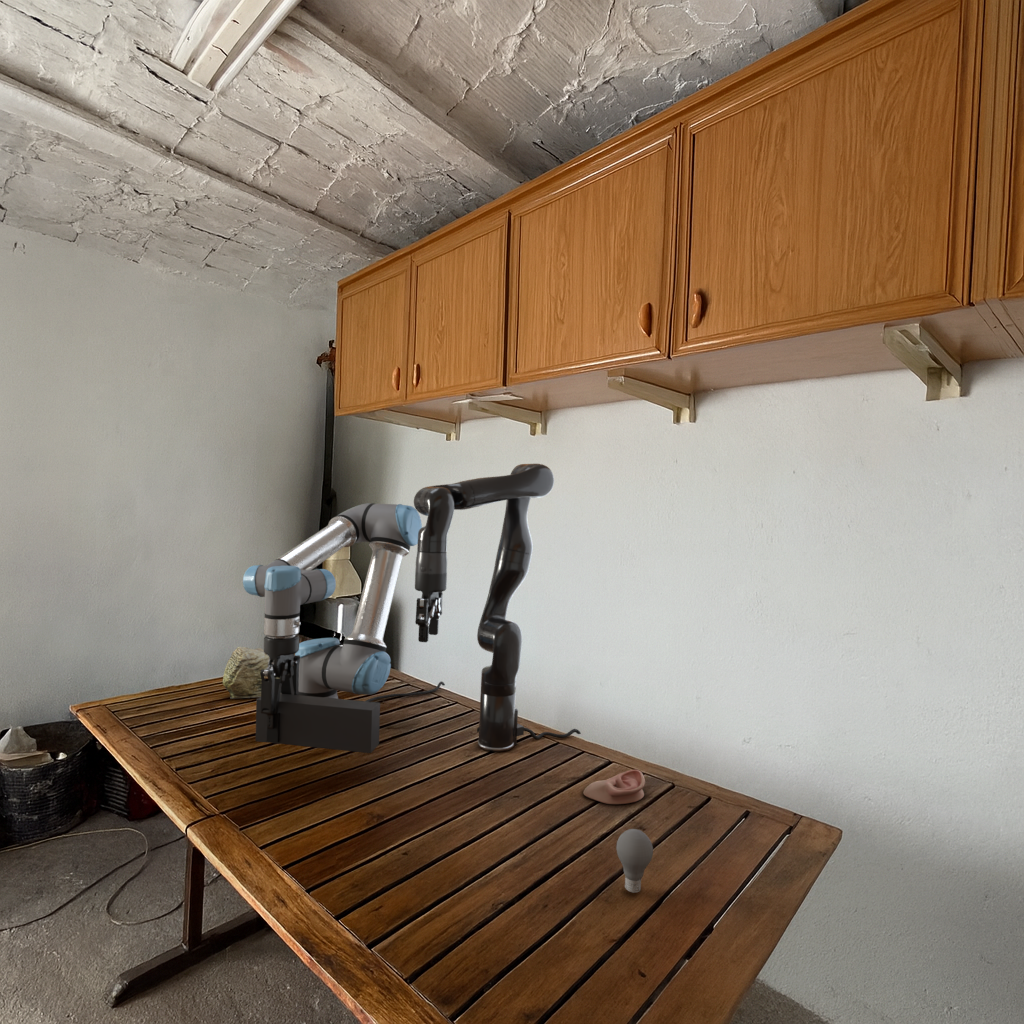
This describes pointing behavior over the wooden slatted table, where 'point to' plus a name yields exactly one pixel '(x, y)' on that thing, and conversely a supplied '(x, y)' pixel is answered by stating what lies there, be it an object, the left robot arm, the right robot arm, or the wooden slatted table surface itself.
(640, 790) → the anatomical model
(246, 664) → the fossil
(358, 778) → the wooden slatted table surface
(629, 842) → the light bulb
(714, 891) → the wooden slatted table surface
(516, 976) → the wooden slatted table surface
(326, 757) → the wooden slatted table surface
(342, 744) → the bar
